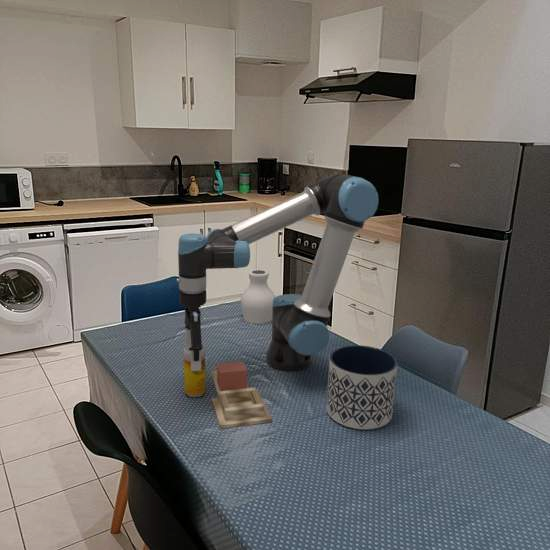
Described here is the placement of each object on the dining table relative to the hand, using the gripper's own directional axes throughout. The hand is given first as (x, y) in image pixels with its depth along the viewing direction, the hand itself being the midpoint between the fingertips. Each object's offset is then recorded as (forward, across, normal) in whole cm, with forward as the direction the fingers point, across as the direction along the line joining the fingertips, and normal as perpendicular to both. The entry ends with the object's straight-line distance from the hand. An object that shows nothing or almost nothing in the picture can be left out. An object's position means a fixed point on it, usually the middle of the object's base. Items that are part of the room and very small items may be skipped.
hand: (193, 359), depth 150 cm
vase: (+10, -53, +32) cm, 63 cm away
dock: (+11, +5, +12) cm, 16 cm away
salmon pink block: (+10, 0, +12) cm, 15 cm away
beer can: (+11, 0, +1) cm, 11 cm away
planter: (+10, +21, +44) cm, 49 cm away
